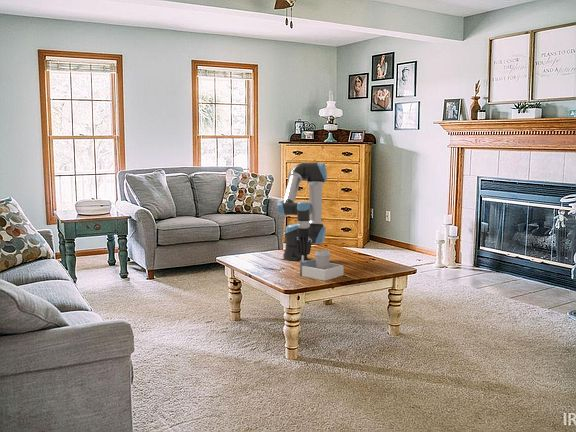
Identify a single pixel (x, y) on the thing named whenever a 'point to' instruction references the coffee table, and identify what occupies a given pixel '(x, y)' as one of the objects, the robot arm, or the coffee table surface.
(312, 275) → the white open box
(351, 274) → the coffee table surface
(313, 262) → the grey flat plate
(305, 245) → the robot arm
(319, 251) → the coffee cup
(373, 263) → the coffee table surface
